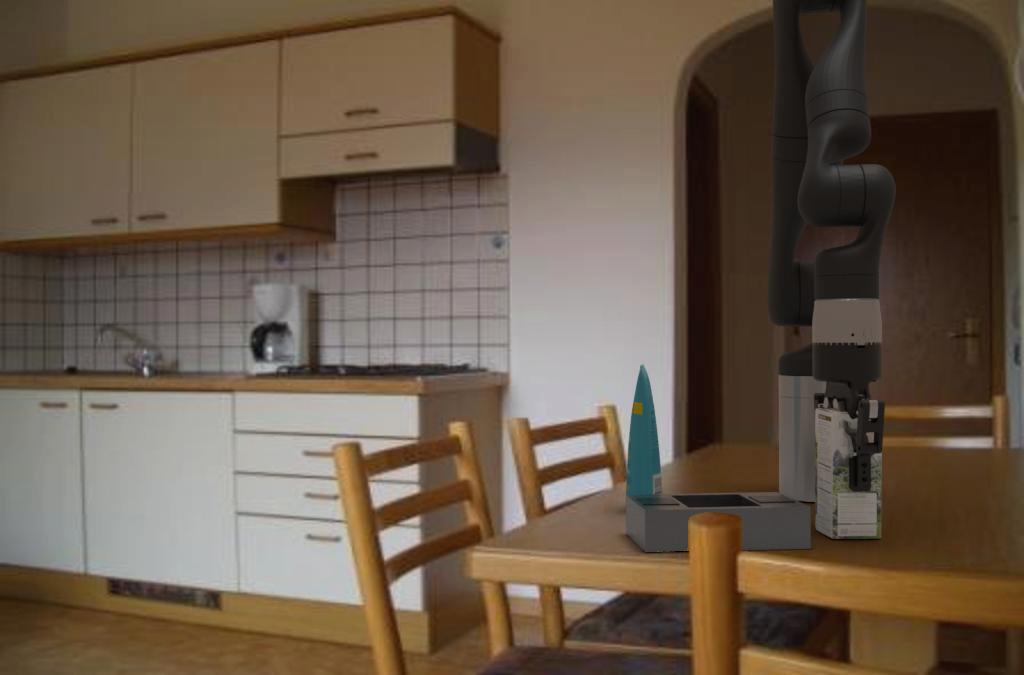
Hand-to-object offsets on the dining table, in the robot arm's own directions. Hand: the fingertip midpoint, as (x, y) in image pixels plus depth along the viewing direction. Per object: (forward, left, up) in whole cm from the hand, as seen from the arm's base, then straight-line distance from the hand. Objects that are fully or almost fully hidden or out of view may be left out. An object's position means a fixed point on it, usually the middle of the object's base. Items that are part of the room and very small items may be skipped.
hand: (847, 486), depth 111 cm
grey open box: (+1, -16, -6) cm, 17 cm away
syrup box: (0, 0, -6) cm, 6 cm away
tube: (-17, -20, -6) cm, 27 cm away
